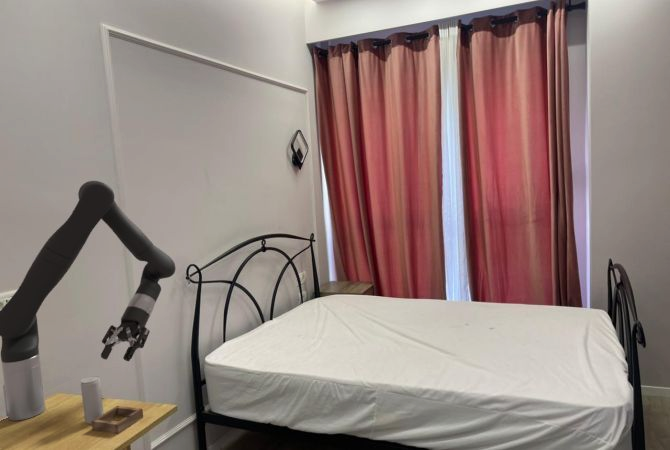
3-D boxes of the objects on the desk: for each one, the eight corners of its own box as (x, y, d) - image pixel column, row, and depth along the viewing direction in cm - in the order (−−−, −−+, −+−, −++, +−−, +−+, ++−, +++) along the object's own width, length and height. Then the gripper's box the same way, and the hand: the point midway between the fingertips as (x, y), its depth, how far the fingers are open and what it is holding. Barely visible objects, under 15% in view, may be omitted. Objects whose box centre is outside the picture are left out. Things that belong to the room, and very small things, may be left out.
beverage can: (96, 425, 128) (91, 382, 127) (81, 424, 129) (76, 382, 128) (108, 416, 132) (103, 375, 132) (93, 415, 133) (88, 375, 133)
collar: (92, 430, 125) (91, 420, 125) (118, 414, 134) (117, 405, 133) (119, 433, 122) (118, 424, 122) (143, 417, 130) (142, 408, 130)
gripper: (113, 304, 148) (87, 352, 138) (150, 305, 143) (126, 355, 133) (128, 316, 153) (104, 363, 143) (163, 317, 148) (141, 366, 138)
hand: (114, 359), depth 138 cm, fingers open, 8 cm apart
